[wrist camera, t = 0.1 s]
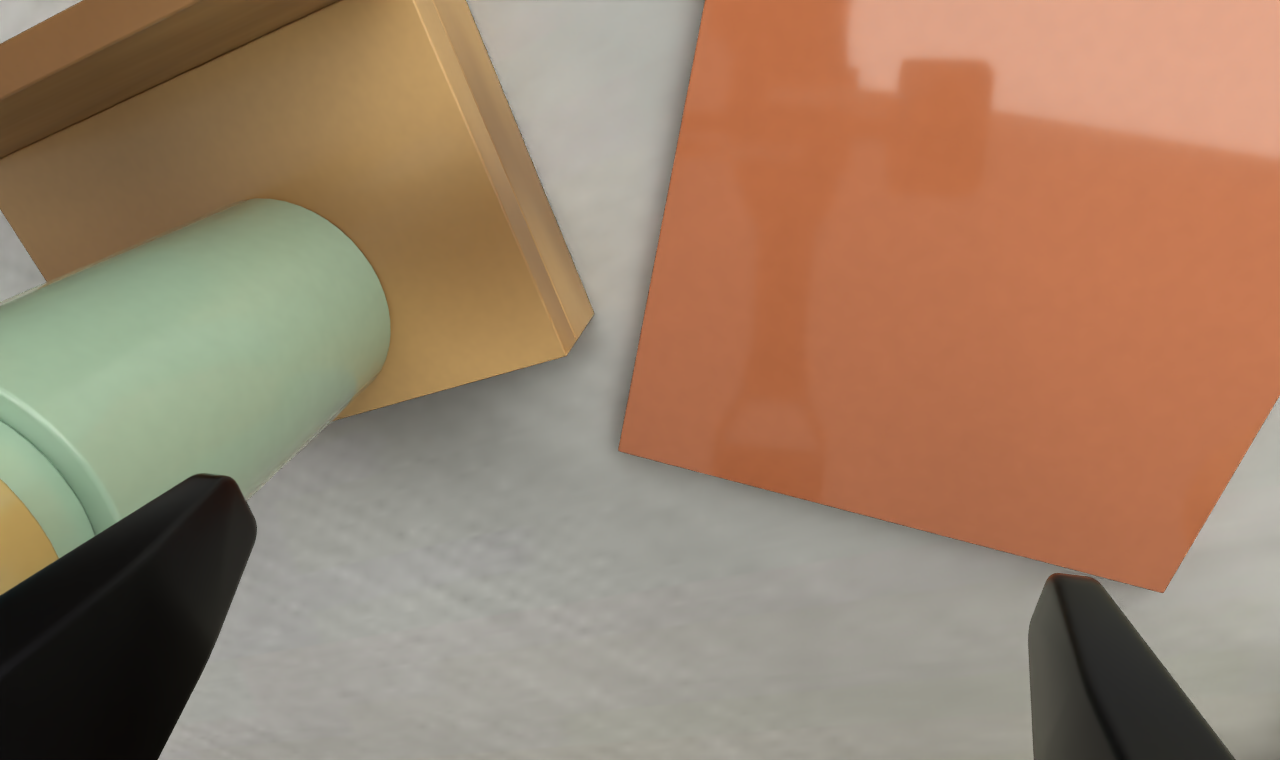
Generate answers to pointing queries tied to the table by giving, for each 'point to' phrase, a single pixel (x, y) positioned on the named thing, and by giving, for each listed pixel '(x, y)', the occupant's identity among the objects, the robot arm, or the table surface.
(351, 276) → the jar
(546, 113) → the table surface
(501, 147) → the shelf
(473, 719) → the table surface
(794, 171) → the trivet
